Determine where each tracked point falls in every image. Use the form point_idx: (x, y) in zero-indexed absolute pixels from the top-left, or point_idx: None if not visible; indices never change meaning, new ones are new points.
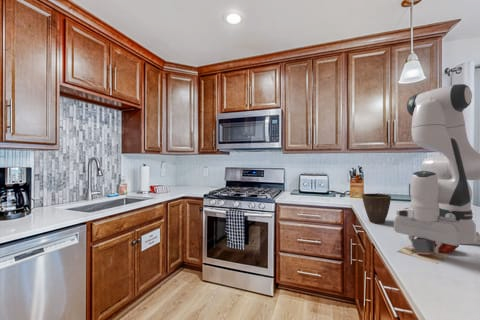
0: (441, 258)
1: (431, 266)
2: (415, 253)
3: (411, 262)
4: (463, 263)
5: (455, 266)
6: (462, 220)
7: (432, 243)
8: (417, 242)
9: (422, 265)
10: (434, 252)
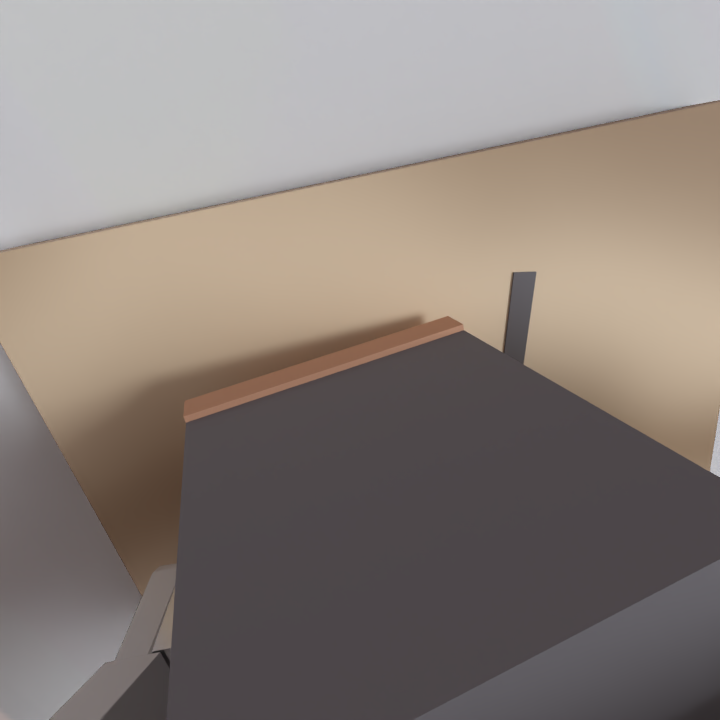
0: (146, 535)
1: (98, 200)
2: None
3: (364, 11)
4: (77, 668)
5: (19, 525)
6: None
7: None
8: (526, 516)
9: (181, 76)
10: None
